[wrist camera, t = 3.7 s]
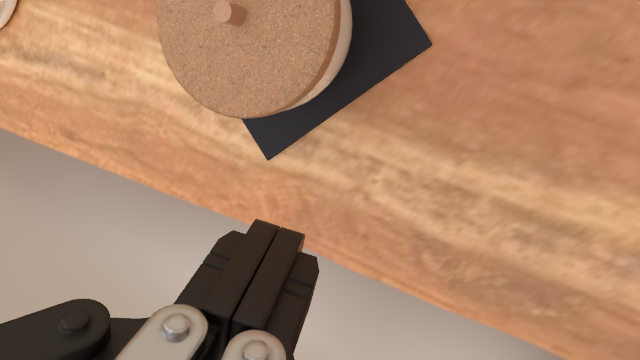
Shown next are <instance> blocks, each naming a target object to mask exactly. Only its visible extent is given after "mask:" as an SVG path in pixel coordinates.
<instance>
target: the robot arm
mask: <svg viewBox="0 0 640 360" xmlns="http://www.w3.org/2000/svg"><path fill="white" fill-rule="evenodd" d="M304 240H305V234H302V233H299V232H296V231H293V230H290V229H286V228H283V227H281V228H280V226H277V225H274V224H270V223H267V222H264V221H261V220H258V219H256V220H255V221H254V222H253V223H252V225H251V227H250V228H249V230H248V232H247V233H246V234H243V233H240V232H237V231H234V230H233V231H231V232H229V233H228V234H226V235H225V236H223V237H221V238H220V239H219V240H218V241H217V242H216V244H215V245H214V247H213V248H212V250H211V251H210V254H208V255H207V257H206V258H205V260H204V261H203V264H201V265H200V267H199V268H198V270H197V271H196V273H195V274H194V276H193V277H192V278H191V280H190V281H189V283H188V284H187V285H186V287H185V289H184V290H183V291H182V293H181V294H180V296H179V297H178V299H177V300H176V301H175V303H174V304H173V305H169V306H166V307H163V308H161V309H159V310H158V311H157V312H155V313H154V314H153V315H152V316H151V317H149V318H142V319H130V318H110V314H109V311H108V309H107V308H106V307H105V306H104V305H103V304H101V303H100V302H97V301H95V300H91V299H76V300H71V301H68V302H64V303H61V304H58V305H55V306H52V307H49V308H47V309H44V310H41V311H38V312H35V313H32V314H29V315H26V316H23V317H20V318H17V319H14V320H11V321H8V322H5V323H2V324H0V360H294V357H293V353H294V350H295V347H296V344H297V341H298V338H299V335H300V333H301V330H302V327H303V324H304V321H305V318H306V315H307V313H308V310H309V306H310V303H311V299H312V296H313V292H314V289H315V285H316V281H317V278H318V274H319V268H318V262H317V257H315V256H312V255H308V254H305V253H302V248H303V244H304Z"/></svg>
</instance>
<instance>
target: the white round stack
mask: <svg viewBox="0 0 640 360" xmlns="http://www.w3.org/2000/svg"><path fill="white" fill-rule="evenodd" d="M16 3H17V0H0V28H2V27H3V26H4V25H5V24H6V23H7V21H8V20H9V18H10V17H11V15H12V13H13V11H14V9H15V6H16Z"/></svg>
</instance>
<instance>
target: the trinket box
mask: <svg viewBox="0 0 640 360" xmlns="http://www.w3.org/2000/svg"><path fill="white" fill-rule="evenodd" d="M157 24H158V32H159V38H160V42H161V46H162V49H163V53H164V55H165V58H166V60H167V63H168V65H169V67H170V69H171V71H172V72H173V74H174V76H175V78H176V79H177V80H178V82H179V83H180V84H181V86H182V87H183V88H184V90H185V91H186V92H187V93H188V94H189V95H191V96H192V97H193V98H194V99H195V100H196V101H197V102H199V103H200V104H202V105H203V106H204V107H206V108H208V109H210V110H212V111H214V112H216V113H218V114H222V115H225V116H229V117H234V118H243V119H246V118H260V117H265V116H269V115H273V114H277V113H279V112H282V111H286V110H290V109H292V108H295V107H297V106H299V105H302V104H304V103H306V102H308V101H309V100H311V99H312V98H314V97H315V96H317V95H318V94H319V93H320V92H321V91H322V90H323V89H325V88H326V87H327V86H328V85H329V84H330V83H331V81H332V80H333V79H334V78H335V76H336V75H337V74H338V72H339V70H340V68H341V67H342V65H343V63H344V61H345V58H346V56H347V53H348V50H349V46H350V42H351V37H352V26H353V22H352V9H351V4H350V0H158V2H157Z"/></svg>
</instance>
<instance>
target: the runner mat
mask: <svg viewBox="0 0 640 360" xmlns="http://www.w3.org/2000/svg"><path fill="white" fill-rule="evenodd" d="M350 4H351V9H352V22H353V26H352V37H351V42H350V46H349V50H348V53H347V56H346V58H345V61H344V63H343V65H342V67H341V68H340V70H339V72H338V74H337V75H336V76H335V78H334V79H333V80H332V81H331V83H330V84H329V85H328V86H327V87H326V88H325V89H323V90H322V91H321V92H320V93H319V94H318V95H317V96H315V97H314V98H312V99H311V100H309V101H308V102H306V103H304V104H302V105H299V106H297V107H295V108H292V109H290V110H286V111H282V112H279V113H277V114H273V115H269V116H265V117H260V118H246V119H243V118H241V119H242V120H243V122H244V124H245V125H246V127H247V128H248V130H249V132H250V133H251V135H252V136H253V138H254V140H255V141H256V143H257V144H258V146H259V148H260V149H261V151H262V152H263V154H264V156H265V157H266V159H267V160H269V159H271V158H272V157H274V156H275V155H277V154H278V153H279V152H281V151H282V150H284V149H285V148H286V147H288V146H289V145H291V144H292V143H294V142H295V141H296V140H298V139H299V138H301V137H302V136H303V135H305V134H306V133H308V132H309V131H311V130H312V129H313V128H315V127H316V126H318V125H319V124H320V123H322V122H323V121H325V120H326V119H328V118H329V117H330V116H332V115H333V114H335V113H336V112H337V111H339V110H340V109H342V108H343V107H345V106H346V105H347V104H349V103H350V102H352V101H353V100H354V99H356V98H357V97H359V96H360V95H362V94H363V93H364V92H366V91H367V90H369V89H370V88H371V87H373V86H374V85H376V84H377V83H379V82H380V81H381V80H383V79H384V78H386V77H387V76H388V75H390V74H391V73H393V72H394V71H396V70H397V69H398V68H400V67H401V66H403V65H404V64H405V63H407V62H408V61H410V60H411V59H413V58H414V57H415V56H417V55H418V54H420V53H421V52H422V51H424V50H425V49H427V48H428V47H430V46H431V45H432V43H431V41H430V40H429V38H428V37H427V35H426V33H425V32H424V30H423V29H422V27H421V26H420V24H419V23H418V21H417V19H416V18H415V16H414V15H413V13H412V12H411V10H410V9H409V7H408V5H407V4H406V2H405V1H404V0H350Z"/></svg>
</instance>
